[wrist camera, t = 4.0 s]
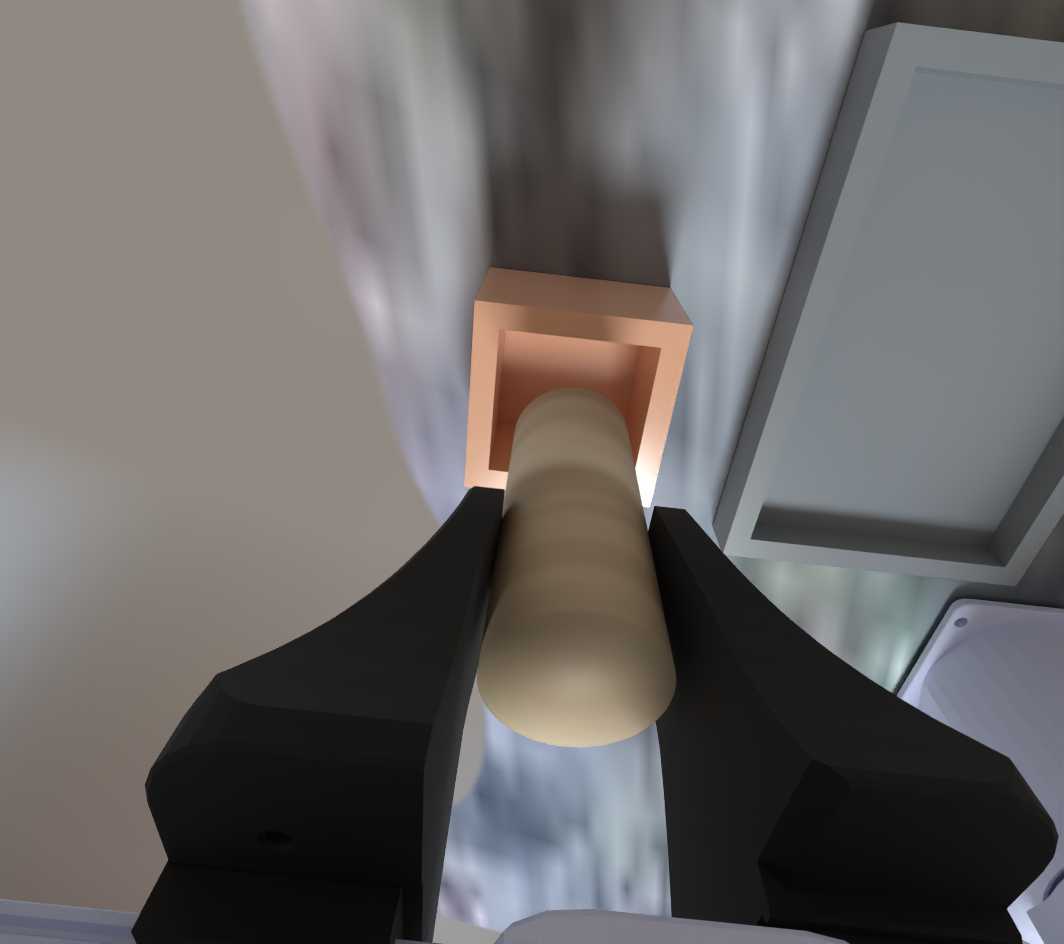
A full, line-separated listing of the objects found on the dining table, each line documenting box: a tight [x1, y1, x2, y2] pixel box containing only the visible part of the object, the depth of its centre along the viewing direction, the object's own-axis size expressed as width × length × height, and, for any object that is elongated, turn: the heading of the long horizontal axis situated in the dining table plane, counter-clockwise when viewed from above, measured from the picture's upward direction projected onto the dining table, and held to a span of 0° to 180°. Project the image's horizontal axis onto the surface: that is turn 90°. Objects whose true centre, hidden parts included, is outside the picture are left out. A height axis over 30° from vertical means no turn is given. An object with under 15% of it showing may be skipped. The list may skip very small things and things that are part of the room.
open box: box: [464, 267, 693, 507], centre depth 19 cm, size 6×6×4 cm
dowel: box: [477, 387, 676, 747], centre depth 13 cm, size 3×3×8 cm
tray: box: [713, 22, 1064, 586], centre depth 20 cm, size 16×11×2 cm
